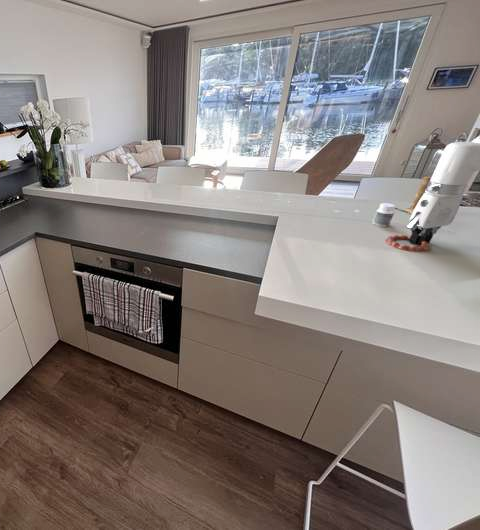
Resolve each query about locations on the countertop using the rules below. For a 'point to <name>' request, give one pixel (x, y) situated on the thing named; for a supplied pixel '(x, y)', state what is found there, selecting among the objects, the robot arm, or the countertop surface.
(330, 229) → the countertop surface
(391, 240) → the ring
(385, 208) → the pill bottle
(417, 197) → the stand
